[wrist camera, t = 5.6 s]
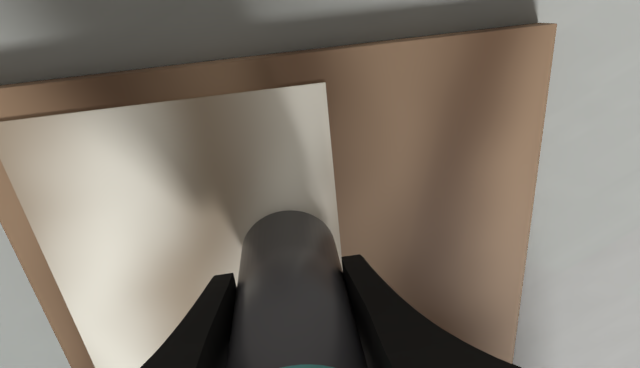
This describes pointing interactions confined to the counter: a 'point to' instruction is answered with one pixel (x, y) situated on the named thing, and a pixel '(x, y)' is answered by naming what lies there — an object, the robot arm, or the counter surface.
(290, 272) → the marker
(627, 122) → the counter surface
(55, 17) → the counter surface
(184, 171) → the drawing board
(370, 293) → the robot arm
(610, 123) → the counter surface
